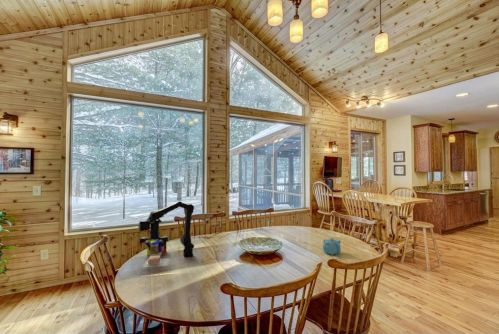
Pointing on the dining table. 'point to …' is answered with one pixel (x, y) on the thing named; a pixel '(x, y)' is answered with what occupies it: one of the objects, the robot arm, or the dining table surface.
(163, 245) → the puzzle toy
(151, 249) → the walnut cube
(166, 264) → the grey flat slab
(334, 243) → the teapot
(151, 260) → the terracotta base
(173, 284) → the dining table surface
